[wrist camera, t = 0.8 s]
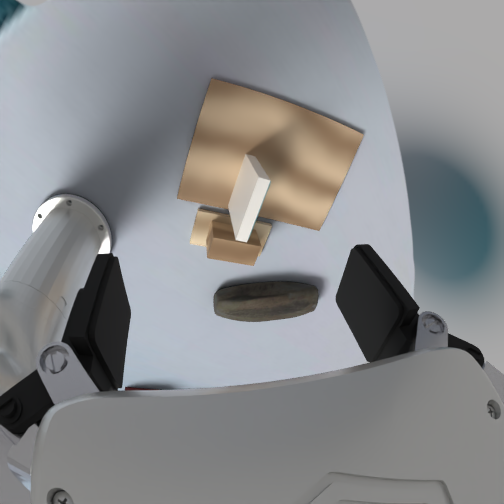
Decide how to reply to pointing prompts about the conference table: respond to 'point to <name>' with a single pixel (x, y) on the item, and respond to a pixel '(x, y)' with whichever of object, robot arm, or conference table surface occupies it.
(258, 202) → the tile
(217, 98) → the cork mat
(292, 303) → the decorative stone
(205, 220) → the wooden float
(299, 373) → the conference table surface
